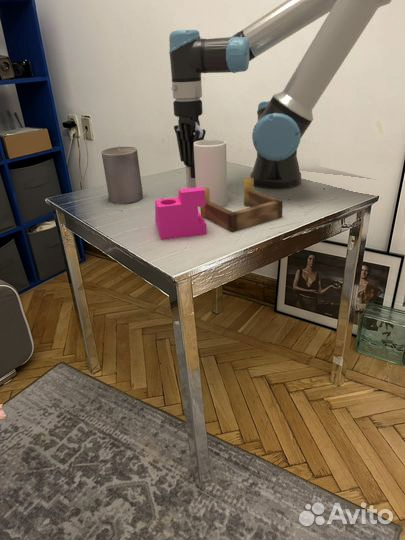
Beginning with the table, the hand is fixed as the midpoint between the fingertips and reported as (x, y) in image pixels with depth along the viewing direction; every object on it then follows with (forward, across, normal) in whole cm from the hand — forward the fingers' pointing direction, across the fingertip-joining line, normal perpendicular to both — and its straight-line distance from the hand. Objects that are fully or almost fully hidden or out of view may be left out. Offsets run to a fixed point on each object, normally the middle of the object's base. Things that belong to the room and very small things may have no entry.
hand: (192, 188), depth 115 cm
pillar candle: (+2, -9, -17) cm, 19 cm away
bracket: (+2, +20, -15) cm, 25 cm away
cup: (+2, +10, 0) cm, 10 cm away
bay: (+2, +23, 0) cm, 23 cm away
